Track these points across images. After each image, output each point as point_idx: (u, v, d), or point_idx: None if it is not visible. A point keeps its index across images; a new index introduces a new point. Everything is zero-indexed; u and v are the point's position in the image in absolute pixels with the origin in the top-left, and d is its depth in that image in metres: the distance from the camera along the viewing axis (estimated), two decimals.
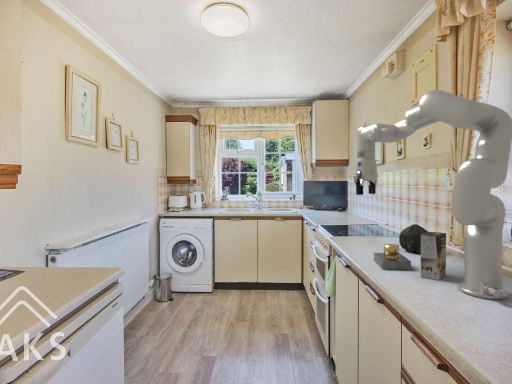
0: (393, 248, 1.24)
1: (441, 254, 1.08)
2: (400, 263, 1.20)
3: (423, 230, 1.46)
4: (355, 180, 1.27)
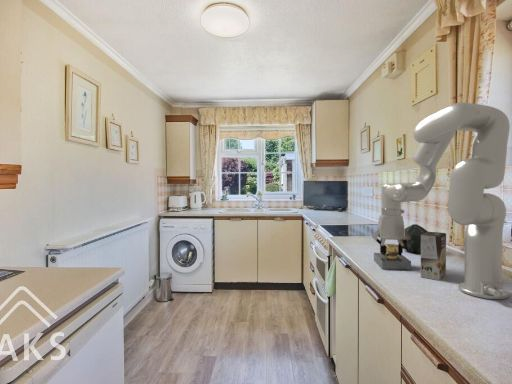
0: (393, 248, 1.24)
1: (441, 254, 1.08)
2: (400, 263, 1.20)
3: (423, 230, 1.46)
4: None
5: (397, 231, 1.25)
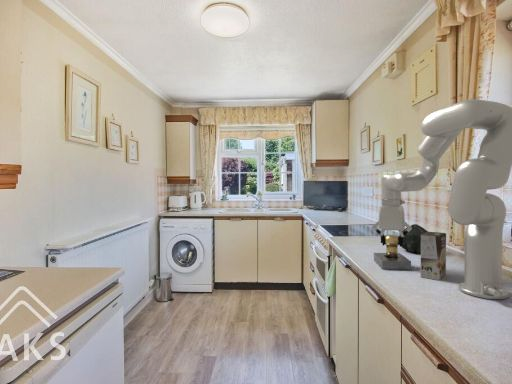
0: (391, 238, 1.24)
1: (441, 254, 1.08)
2: (400, 263, 1.20)
3: (423, 230, 1.46)
4: (408, 231, 1.24)
5: (396, 222, 1.24)
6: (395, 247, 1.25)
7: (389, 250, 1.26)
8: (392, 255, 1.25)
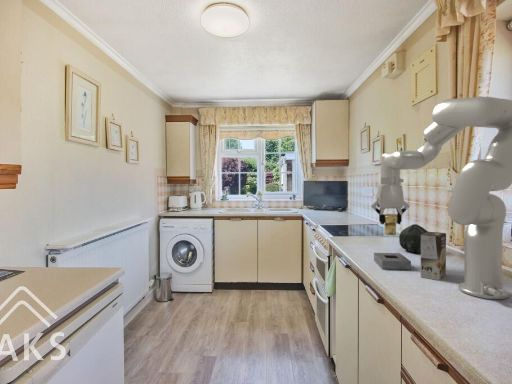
0: (392, 217, 1.25)
1: (441, 254, 1.08)
2: (400, 263, 1.20)
3: (423, 230, 1.46)
4: None
5: (396, 200, 1.25)
6: (394, 225, 1.26)
7: (389, 229, 1.27)
8: (392, 233, 1.26)
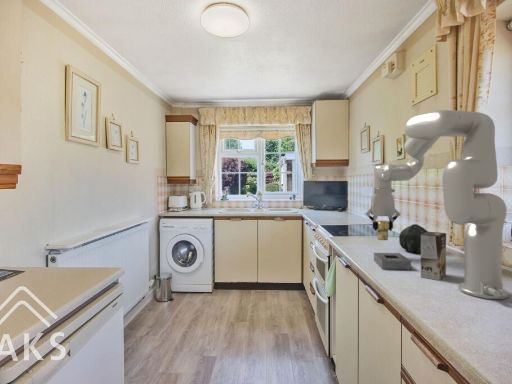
0: (384, 224, 1.37)
1: (441, 254, 1.08)
2: (400, 263, 1.20)
3: (423, 230, 1.46)
4: None
5: (388, 208, 1.37)
6: (386, 231, 1.38)
7: (381, 234, 1.39)
8: (384, 238, 1.38)
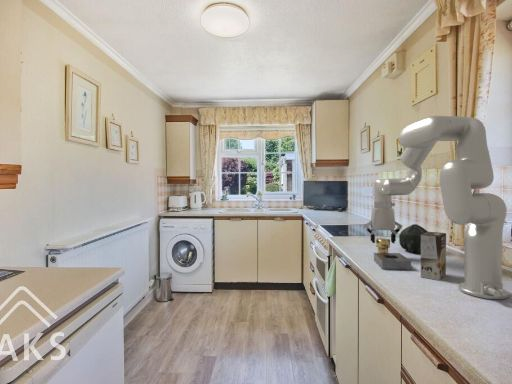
0: (384, 242, 1.37)
1: (441, 254, 1.08)
2: (400, 263, 1.20)
3: (423, 230, 1.46)
4: None
5: (388, 222, 1.37)
6: (387, 249, 1.38)
7: (381, 252, 1.39)
8: None
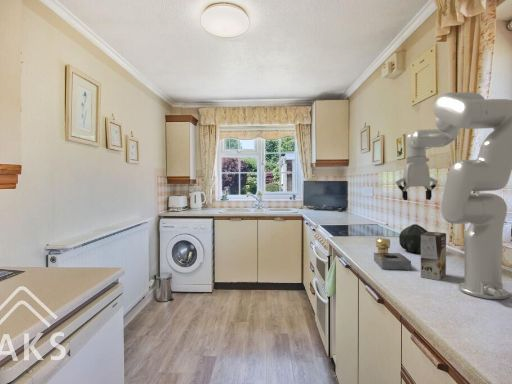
0: (384, 242, 1.37)
1: (441, 254, 1.08)
2: (400, 263, 1.20)
3: (423, 230, 1.46)
4: None
5: (423, 178, 1.30)
6: (387, 249, 1.38)
7: (381, 252, 1.39)
8: None
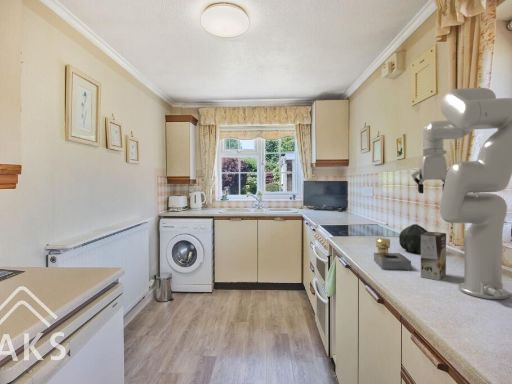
0: (384, 242, 1.37)
1: (441, 254, 1.08)
2: (400, 263, 1.20)
3: (423, 230, 1.46)
4: None
5: (440, 171, 1.27)
6: (387, 249, 1.38)
7: (381, 252, 1.39)
8: None
